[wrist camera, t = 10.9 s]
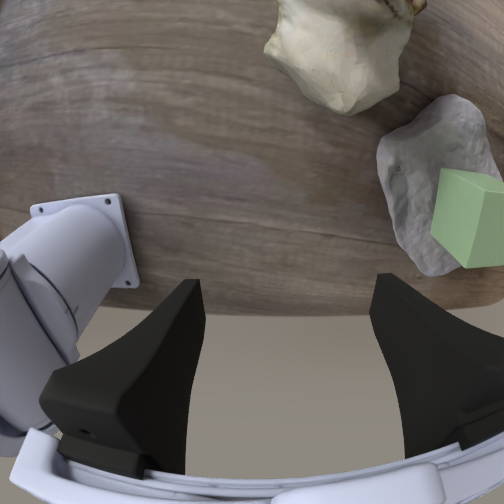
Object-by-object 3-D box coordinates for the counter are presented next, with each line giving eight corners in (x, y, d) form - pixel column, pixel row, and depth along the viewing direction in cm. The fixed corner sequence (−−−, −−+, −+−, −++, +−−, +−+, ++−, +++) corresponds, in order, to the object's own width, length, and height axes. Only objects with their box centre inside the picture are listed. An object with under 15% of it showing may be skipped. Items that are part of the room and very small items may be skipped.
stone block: (408, 260, 24) (496, 212, 19) (420, 295, 20) (521, 240, 15) (344, 144, 20) (450, 86, 15) (351, 161, 16) (480, 91, 11)
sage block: (429, 233, 17) (464, 269, 13) (440, 167, 15) (484, 190, 11) (475, 233, 17) (511, 265, 13) (487, 174, 14) (530, 197, 11)
